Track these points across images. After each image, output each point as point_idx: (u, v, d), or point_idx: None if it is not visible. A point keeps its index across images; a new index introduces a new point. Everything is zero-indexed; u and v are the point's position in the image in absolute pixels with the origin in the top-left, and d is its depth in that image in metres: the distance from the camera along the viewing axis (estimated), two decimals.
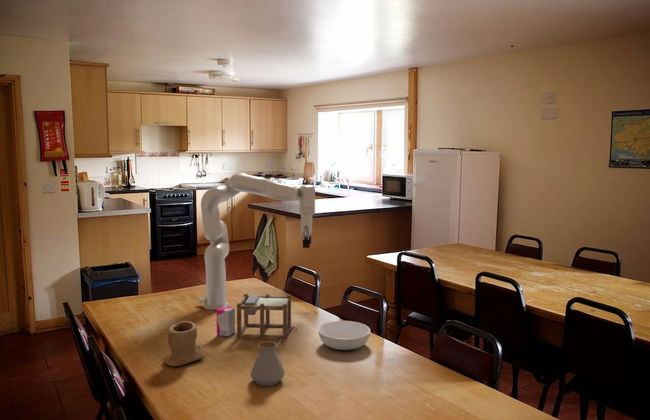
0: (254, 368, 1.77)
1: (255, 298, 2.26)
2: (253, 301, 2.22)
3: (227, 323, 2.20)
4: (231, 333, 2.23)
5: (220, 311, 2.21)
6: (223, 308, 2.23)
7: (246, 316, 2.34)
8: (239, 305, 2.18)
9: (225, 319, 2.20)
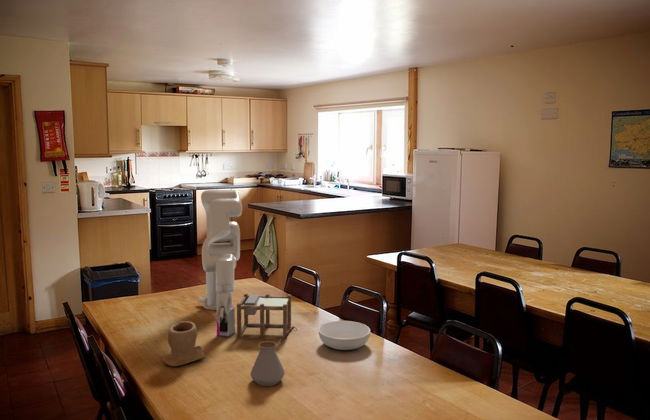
0: (254, 368, 1.77)
1: (255, 298, 2.26)
2: (253, 301, 2.22)
3: None
4: (231, 333, 2.23)
5: None
6: None
7: (246, 316, 2.34)
8: (239, 305, 2.18)
9: None
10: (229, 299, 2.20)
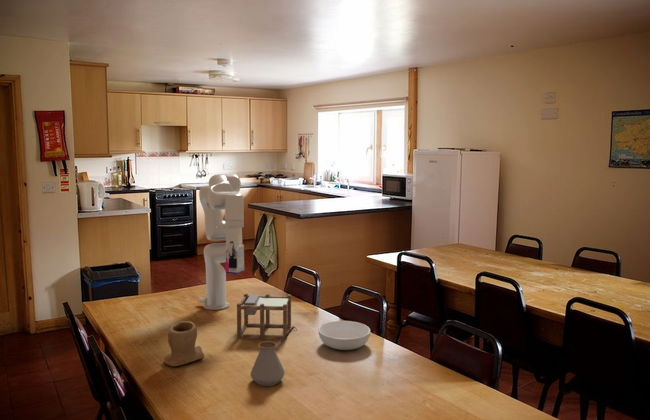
0: (254, 368, 1.77)
1: (255, 298, 2.26)
2: (253, 301, 2.22)
3: None
4: (240, 270, 2.20)
5: None
6: None
7: (246, 316, 2.34)
8: (239, 305, 2.18)
9: None
10: (238, 235, 2.17)
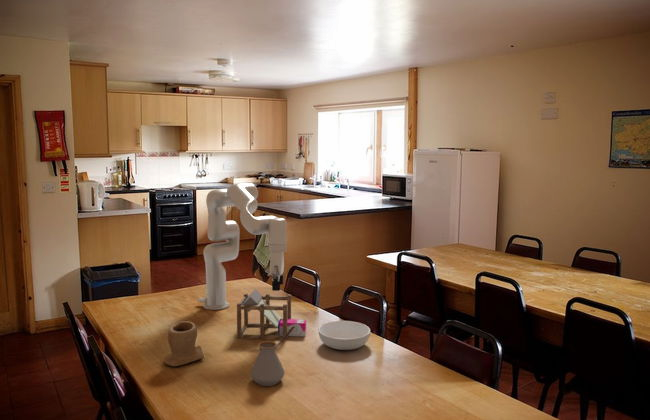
0: (254, 368, 1.77)
1: (258, 297, 2.26)
2: (256, 300, 2.22)
3: (292, 335, 2.23)
4: None
5: (303, 328, 2.22)
6: (305, 326, 2.24)
7: (246, 316, 2.34)
8: (239, 305, 2.18)
9: (295, 332, 2.22)
10: (282, 259, 2.21)
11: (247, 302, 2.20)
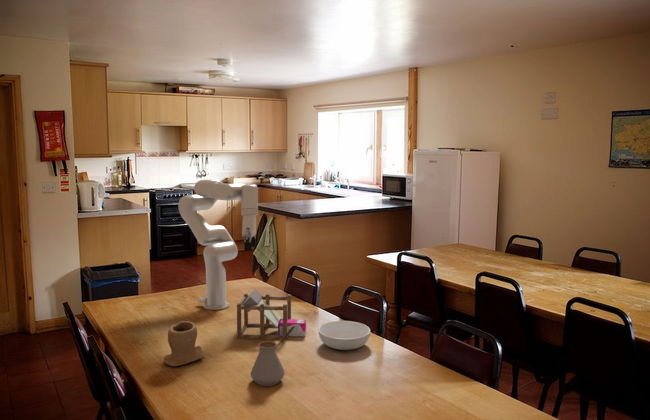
0: (254, 368, 1.77)
1: (258, 297, 2.26)
2: (256, 300, 2.22)
3: (292, 335, 2.23)
4: None
5: (303, 328, 2.22)
6: (305, 326, 2.24)
7: (246, 316, 2.34)
8: (239, 305, 2.18)
9: (295, 332, 2.22)
10: (253, 222, 2.40)
11: (247, 302, 2.20)
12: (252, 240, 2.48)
